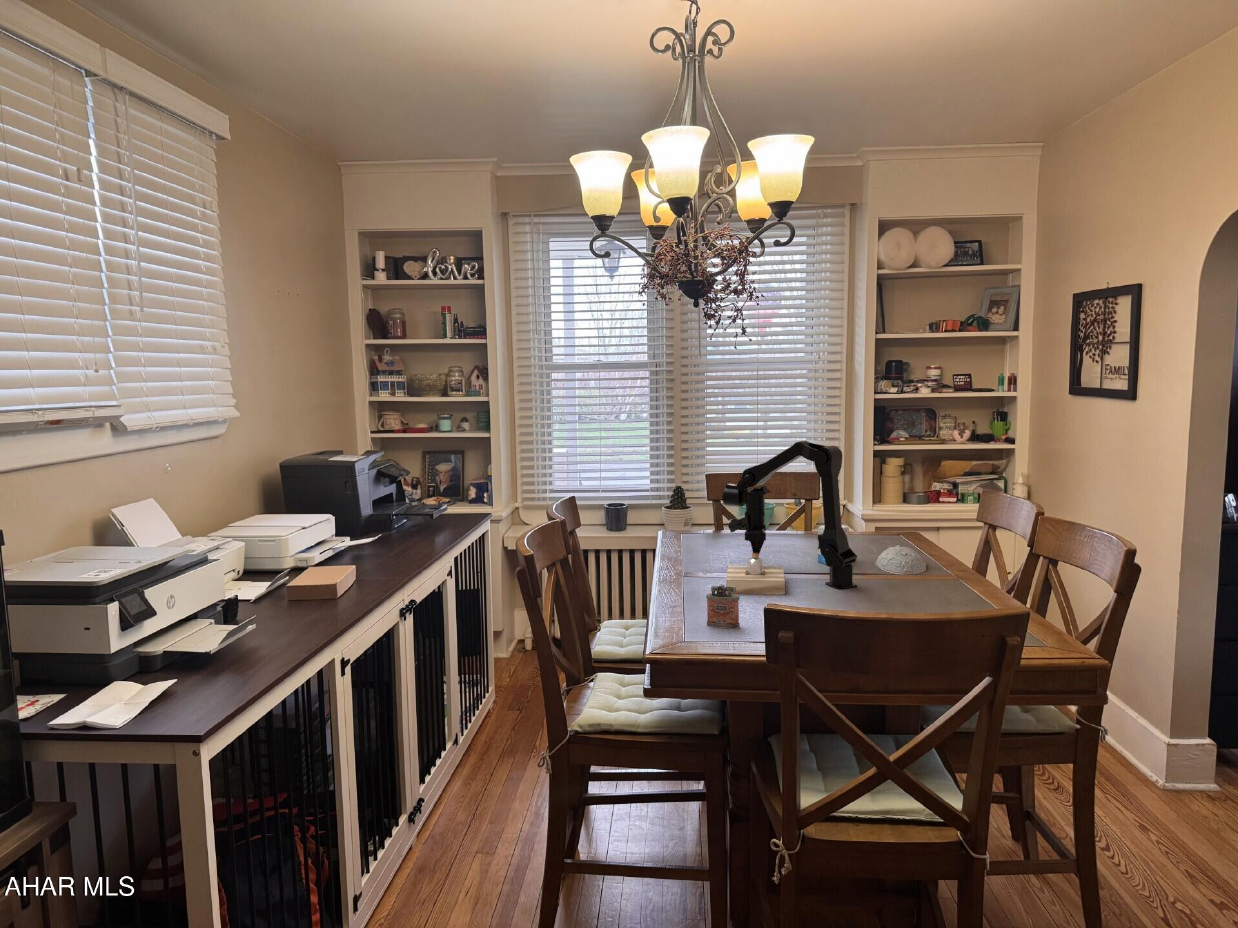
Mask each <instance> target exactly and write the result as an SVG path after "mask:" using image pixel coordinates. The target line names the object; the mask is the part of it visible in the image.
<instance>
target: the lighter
mask: <svg viewBox="0 0 1238 928" xmlns="http://www.w3.org/2000/svg"><path fill="white" fill-rule="evenodd" d="M710 591H711V593H707V594H706V595H705V596H706V607H707V608H706V610H707V611H706V612H707V613H706V616H707V620H706V626H708V627H713V628H720V629H721V628H722V629H739V628H740V624H741V623H740V622H739V621H740V615H739V614H740V610H739V604H740V603H739V601H740V596H739V595H738V594H731V592H736V587H735V586H726V585H725V584H719V585H711V586H710ZM726 592H728V594H727V593H726Z"/></svg>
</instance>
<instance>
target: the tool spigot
mask: <svg viewBox="0 0 1238 928" xmlns="http://www.w3.org/2000/svg"><path fill="white" fill-rule="evenodd" d="M747 562H748V565H747V566H748V572H749V575H763V566H764V565H763V563H764V562H763V558H760V557H759V558H752V557H749V558H748V560H747Z"/></svg>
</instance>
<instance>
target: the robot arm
mask: <svg viewBox="0 0 1238 928" xmlns="http://www.w3.org/2000/svg"><path fill="white" fill-rule="evenodd" d="M801 457H802V458H804V459H805V460H807V461H811V462H813V463H814V468H815V470H816V472H817V474H818V476H819V478H820V483H821V485H820V486H821V498H822V499H821V500H822V513H823V526H824V531H823V533H822V534H819V535H818V534H817V543H818V542H819V546H818V545H817V546H818V547H817V550H818V549H820V552H821V555H822V556H823V557H824V559H825V562H826V564H825V565H826V566H827V567H829V581H827V582H825V585H827V586H828V587H832V588H835V589H836V590H843V589H850V588H856V587H858V584H856V583H853V582H854V581H853V577H854V576H853V565H852V564H855V563H856V561H857V559H858V555H857V554H856V553H855V552H854V550H853V549H852V548H851V547H850V544H849V543H848V540H847V536H846V534H845V532H844V530H843V528H842V525H843V524H842V514H841V500H840V488H839V487H840V485H839V476H840V472H841V470H842V465H843V451H842V450H841V449H840V448H839V447H837V446H835V445H827V446H826V445H823V444H819V443H813V442H810V441H808V440H799V441H796V442H794V443H793V444H792V445H791V446H789V447H787V448H786V449H784V450H782V451H780V452H779V453H777V454H776V455H774V456H772V457H771V458H770V459H767V460H766V461H765V462H762V463H759V464H755V465H753V466H750V467H746V468H745V469H744V470H743V471H742V475H741V476H742V477H741V478H740V479H739V481H738V482H737V484H734V483H727V484H725V488H724V489H723V493H722V495H721V501H722V503H723V504H724V505H725V506H731V507H732V506H733V507H744V506H745V511H744V515H740V516H737V517H734V518H731V519H729V520H728V521H727V522H726V524H727V526H728V529H729V531H730V533H735V532H736V531H738V530H742V529H743V528H744V530H745V532H744V541H748V542H750V546H751V550H752V553H759V554H760V553H761V550H762V549H763V545H764V543H765V541H767V534H766V533H767V532H766V530H767V528H766V527H767V526H766V525H767V524H766V518H765V517H766V515H765V514H766V512H765V511H766V510H765V504H766V503H765V496H766V495H769V494H771V493H772V491H771V490H770V489H769V488H768V487H767V486H766V485H764V484H766V483H767V482H768V481H769V480H770V479H771V478H772V477H773V476H774V474H775V473H776V472H778V471H779V470H781V469H784V467H786V466H788V465H790V464H791V463H794V461H796V460H798V459H800V458H801ZM761 485H762V486H761ZM756 486H757V487H756ZM758 486H760V487H758Z"/></svg>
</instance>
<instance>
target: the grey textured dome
mask: <svg viewBox="0 0 1238 928" xmlns="http://www.w3.org/2000/svg"><path fill="white" fill-rule="evenodd" d="M876 559H877V560H876V561H875V563H874V565H875V566H877V567H878V568H879V569H881V570H882V571H884V572H887V573H890V574H895V575H903V576H904V575H919V574H922V573H924V572H926V570H927V563H926V562H925V560H924V558H923V557H922V556H921V555H920V554H919V553H918V552H917V551H915V550H914V549H912V548H910V547H908V546H907V547H906V546H902V545H896V546H891V547H890V546H889V547H888V548H886V549H885V550H884V551H883V552H881V554H879V556H878V557H877V558H876Z"/></svg>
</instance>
